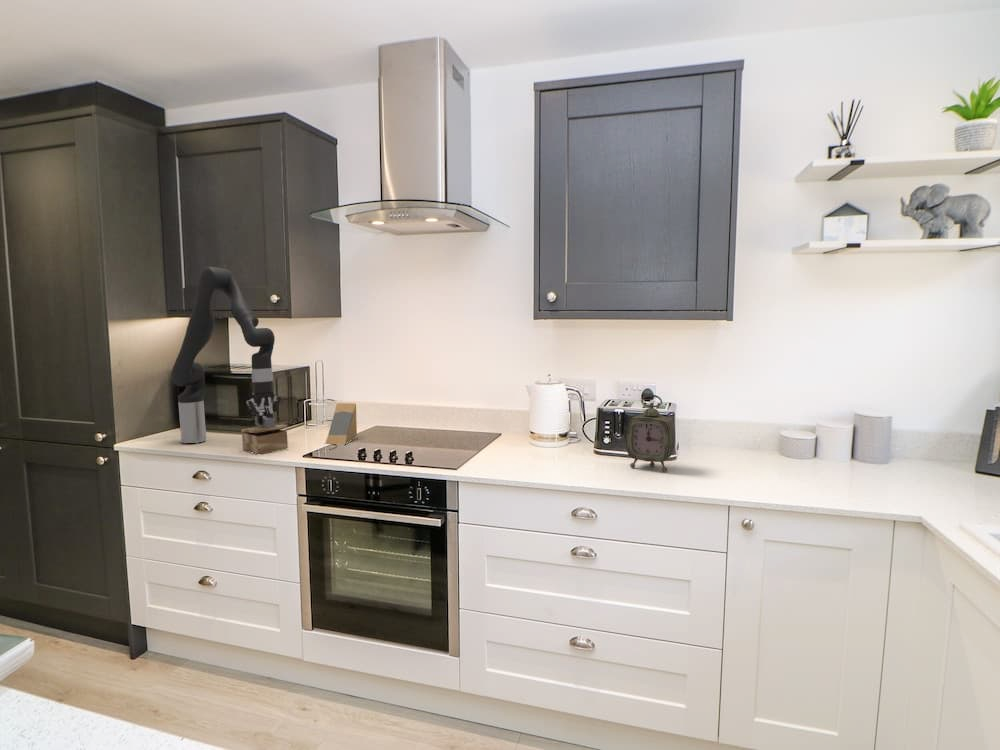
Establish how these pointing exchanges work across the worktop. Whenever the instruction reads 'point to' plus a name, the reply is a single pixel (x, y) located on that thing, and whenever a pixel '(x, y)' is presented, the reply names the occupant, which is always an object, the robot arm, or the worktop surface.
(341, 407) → the sandwich container
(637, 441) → the tabletop clock
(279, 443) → the carton
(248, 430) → the lid
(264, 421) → the gray rectangular block
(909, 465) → the worktop surface
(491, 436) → the worktop surface
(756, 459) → the worktop surface
